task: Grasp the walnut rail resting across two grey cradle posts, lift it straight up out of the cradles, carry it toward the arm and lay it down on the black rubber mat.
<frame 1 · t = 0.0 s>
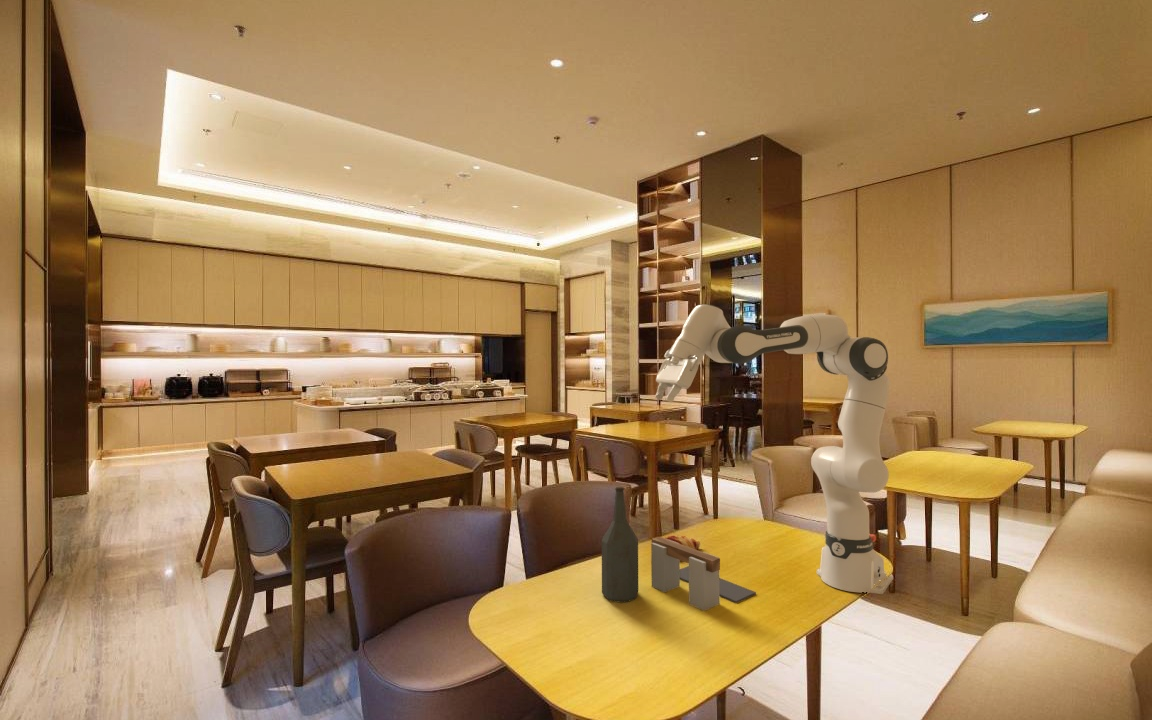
hand: (662, 400, 145), 54 cm above the table, tool tilted 30°, fingers open, 8 cm apart
mat: (710, 584, 152), on the table
bottle: (620, 595, 146), on the table
rail: (683, 558, 145), point 10 cm above the table, touching post 2, post 1
post 1: (665, 586, 151), on the table
croissant: (678, 555, 176), on the table
post 2: (704, 603, 140), on the table
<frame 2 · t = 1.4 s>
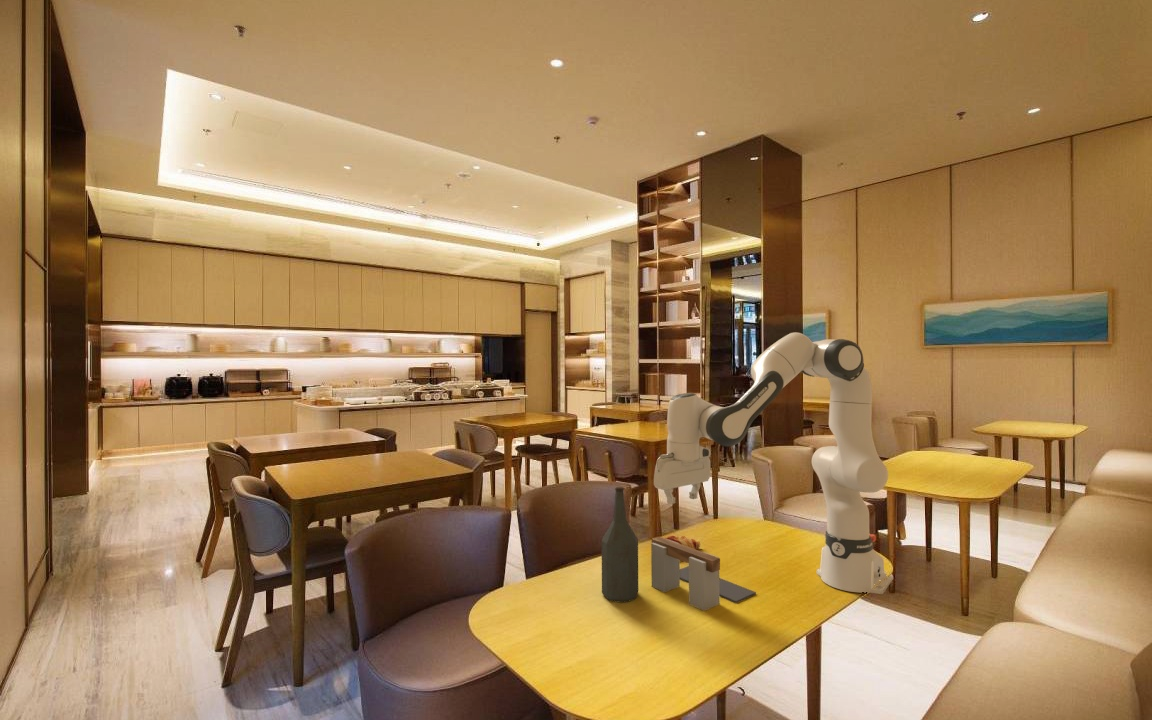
hand: (682, 501, 146), 26 cm above the table, tool pointing down, fingers open, 8 cm apart
nothing on the table moved.
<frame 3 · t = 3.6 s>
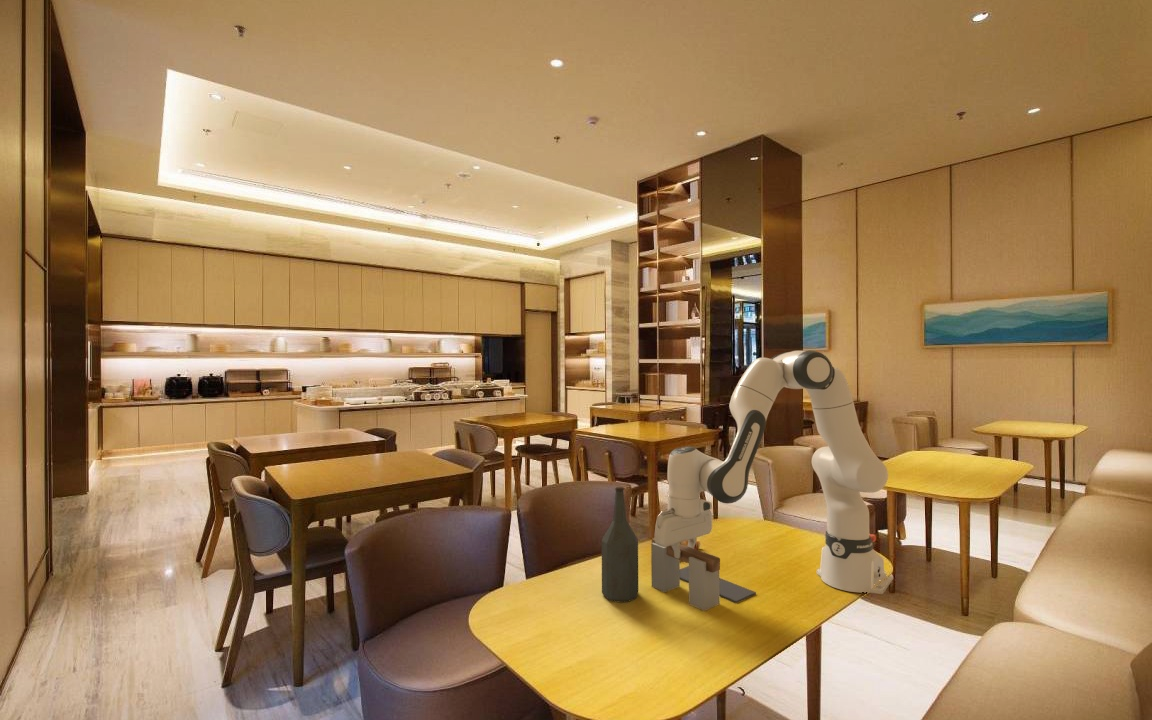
hand: (684, 555, 145), 11 cm above the table, tool pointing down, fingers closed on rail, 3 cm apart
rail: (683, 558, 145), point 10 cm above the table, touching gripper, post 2, post 1
everything else where it was.
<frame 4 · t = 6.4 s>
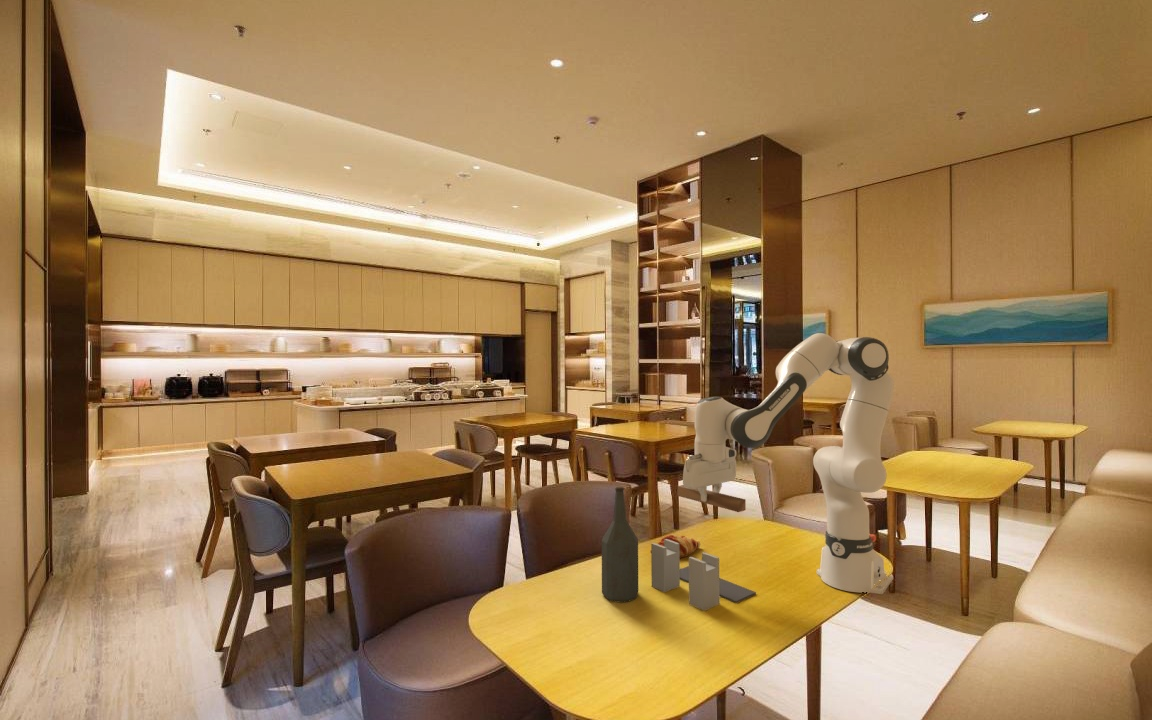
hand: (709, 499, 153), 25 cm above the table, tool pointing down, fingers closed on rail, 3 cm apart
rail: (709, 502, 153), point 24 cm above the table, touching gripper
everything else where it was.
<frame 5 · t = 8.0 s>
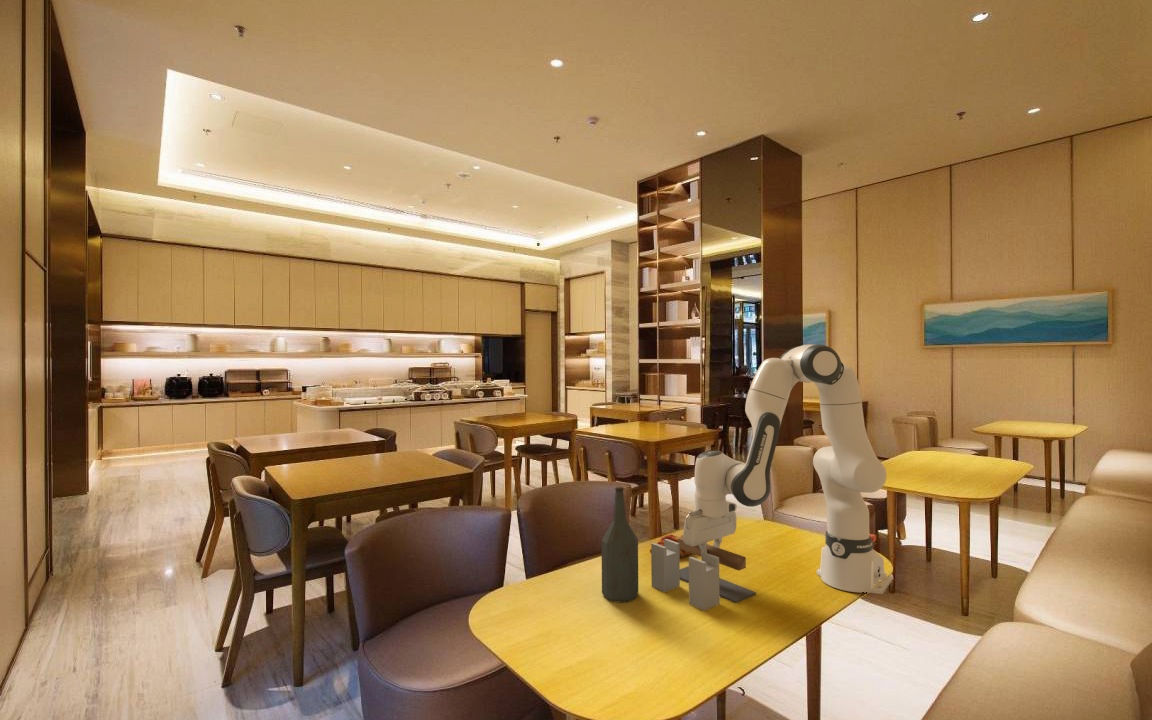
hand: (710, 554, 152), 9 cm above the table, tool pointing down, fingers closed on rail, 3 cm apart
rail: (710, 557, 152), point 8 cm above the table, touching gripper
everything else where it was.
when the fingers open (3 cm above the table, at t = 9.1 s): rail drops 2 cm, resting on mat.
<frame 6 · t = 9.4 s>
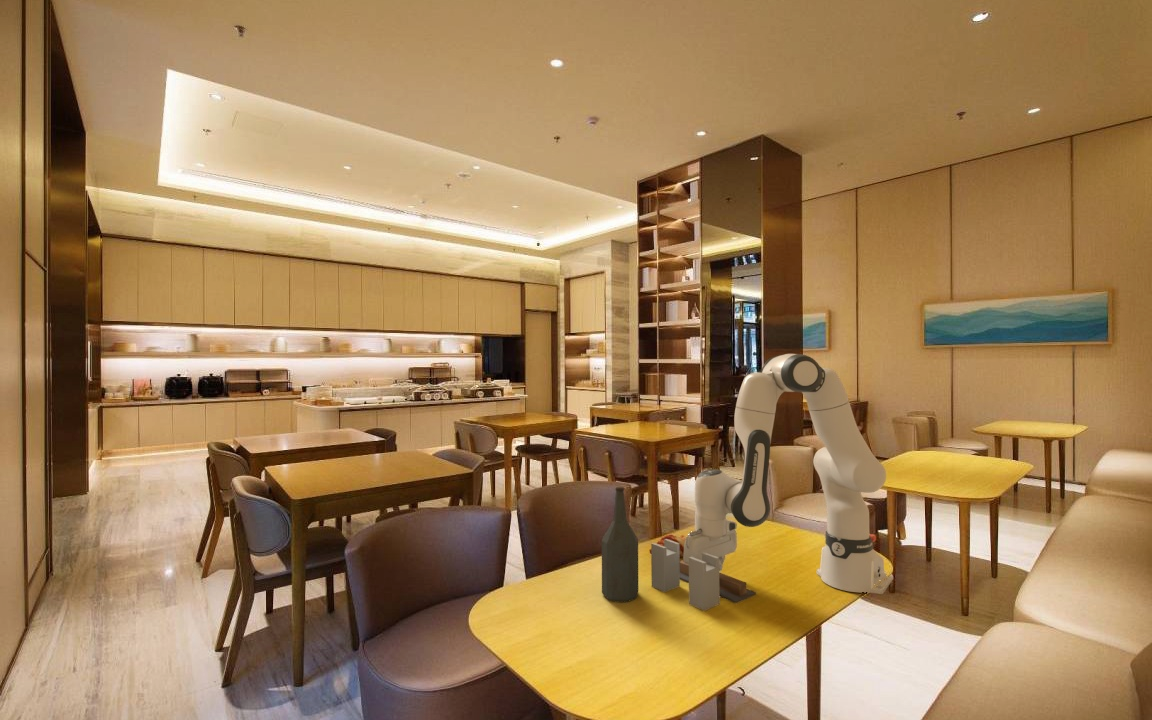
hand: (710, 573, 152), 3 cm above the table, tool pointing down, fingers open, 6 cm apart
rail: (710, 582, 152), point 1 cm above the table, touching mat
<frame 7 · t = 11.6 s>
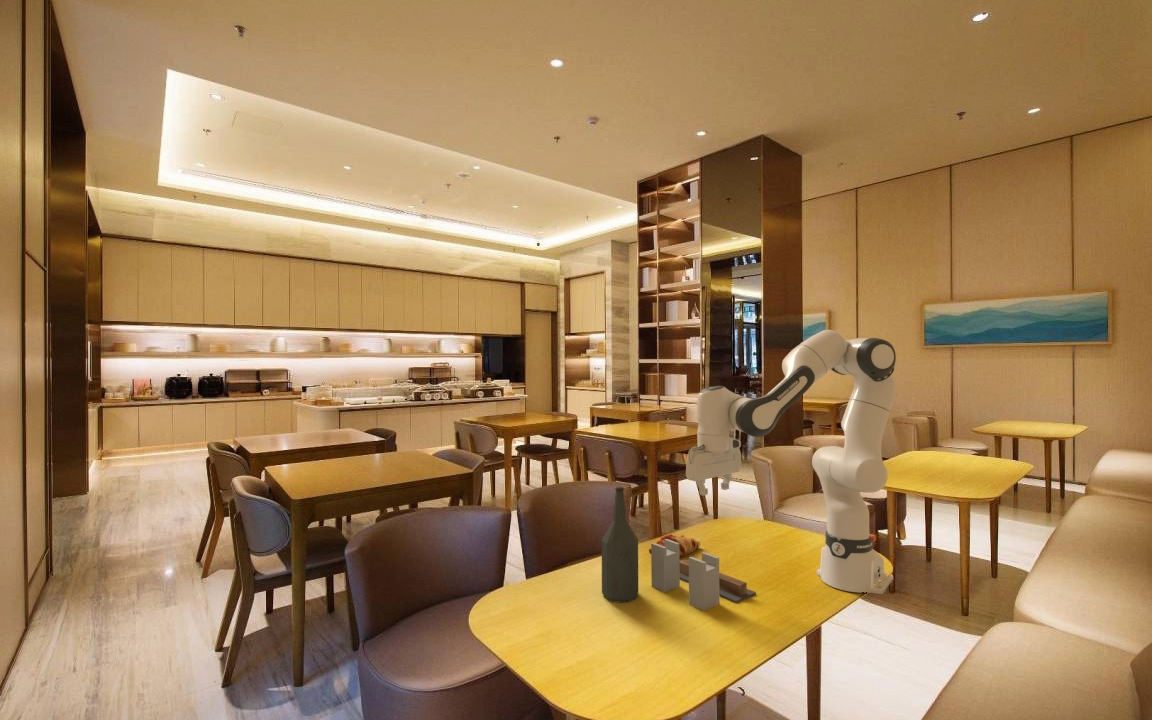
hand: (714, 492, 148), 28 cm above the table, tool pointing down, fingers open, 8 cm apart
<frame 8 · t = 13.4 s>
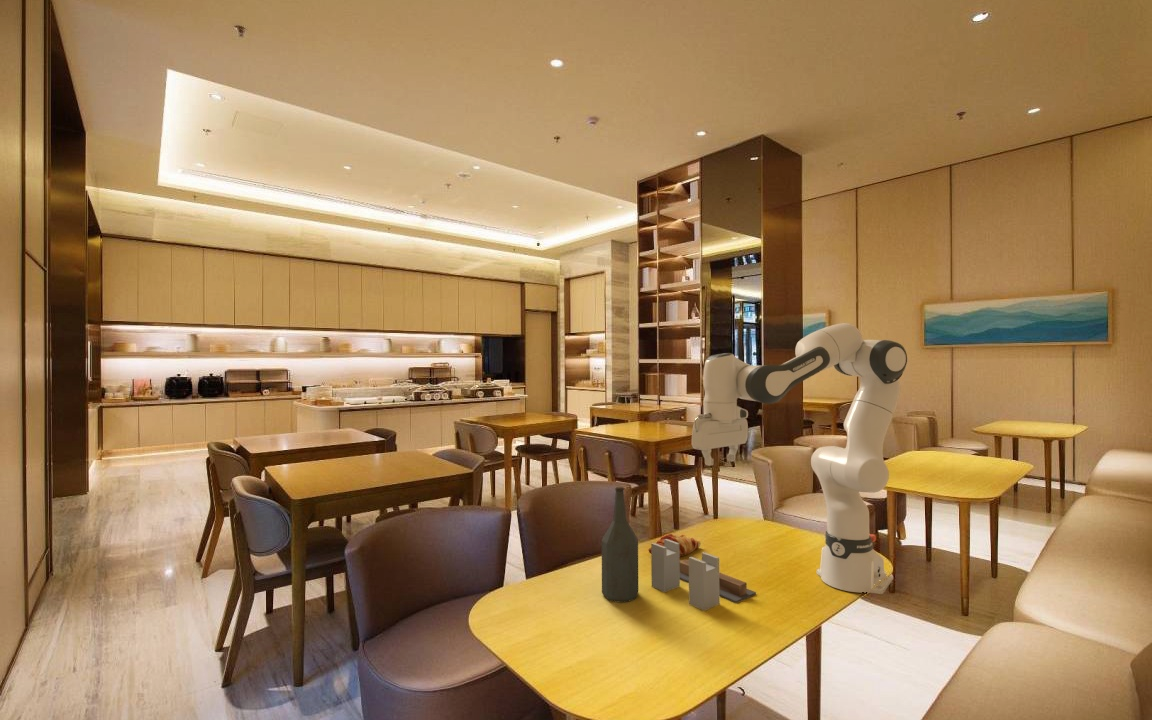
hand: (720, 463, 143), 37 cm above the table, tool pointing down, fingers open, 8 cm apart
at the end: rail inside the target area (0.1 cm from its centre), point 0.6 cm above the table; the gripper is holding nothing; rail touching mat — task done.
